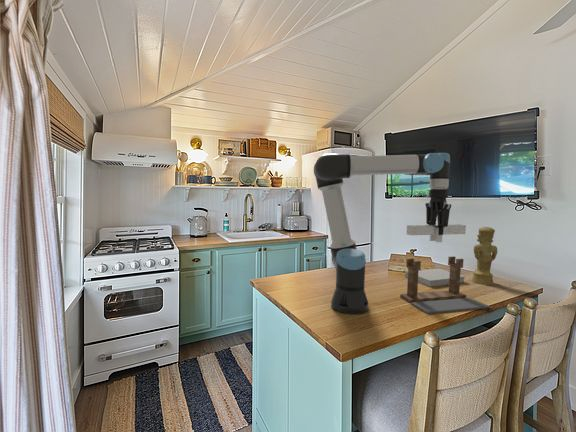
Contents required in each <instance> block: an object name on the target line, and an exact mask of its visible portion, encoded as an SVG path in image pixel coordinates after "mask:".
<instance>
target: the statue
mask: <svg viewBox="0 0 576 432" xmlns="http://www.w3.org/2000/svg"><path fill="white" fill-rule="evenodd" d="M495 231H496V229H494V228H492V227H489V226H482V227H479V228H478V234H476V236H477V239H476V241H477V242H479V243H478V244H475V245H474V246H473V253H474V254H473V255H474V257H475V259H476V260H477V261H476V267H477V268H476V269H475V270H474V271H473V276H472V277H471V280H470V281H471V282H472V283H475V284H477V283H478V284H479V285H482V286H483V285H485V286H493V285H494V284H495V283H494V279H493V276H494V275H493V273H491V269H492V268H491V267H492V262H493V261H494V260H495V259H496V258H497V254H498V247H497V246H496V245H492V243H493V242H494V235H495Z"/></svg>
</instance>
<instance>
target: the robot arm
mask: <svg viewBox="0 0 576 432" xmlns="http://www.w3.org/2000/svg"><path fill="white" fill-rule="evenodd" d="M450 167H451V156H450V154H449V153H448V152H430V153H429V152H428V153H424V154H423V153H421V154H396V155H395V154H391V155H390V154H389V155H388V154H387V155H360V156H359V155H357V156H355V155H354V156H353V155H351V153H330V152H329V153H324V154H322V155H321V156H319V157H318V158H317V160H316V161H315V163H314V165H313V174H314V177H315V181H316V185H317V189H318V190H319V191H321V193H322V197H323V204H324V209H325V213H326V217H327V218H326V219H327V223H328V228H329V232H330V238H331V244H330V245H329V248H330V253H331V261H332V265H333V266H334V269H335V289H334V292H333V294H332V297H331V301H330V304H331V305H330V306H331V307H332V308H333V309H334V310H335V311H337V312H339V313H343V314H350V315H352V314H353V315H356V314H357V315H359V314H364V313H366V312H367V311H368V310H369V301H368V296H367V294H366V291H365V283H366V282H365V280H366V260H367V259H366V255H365V253H364V251H361V250H360V249H358V248H357V245H356V241H355V240H353V238H352V237H351V232H350V227H349V221H348V217H347V212H346V207H345V202H344V196H343V193H342V192H343V191H342V186H343V185H344V180H343V179H350V178H352V176H353V177H354V176H377V175H379V176H380V175H381V176H382V175H406V176H429V190H428V198H430V200H429V202H426V203H425V208H426V209H425V211H426V213H425V214H426V215H425V216H426V220H425V221H426V222H425V223H426V225H438V226H436V227H437V228H436V235H429V241H430V242H435V243H443V230H444V227H447V226H448V225H449V220H450V210H451V208H452V204H451V203H448V202H447V198H448V197H449V185H450V184H449V183H450V169H451V168H450Z"/></svg>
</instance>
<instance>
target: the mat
mask: <svg viewBox="0 0 576 432" xmlns="http://www.w3.org/2000/svg"><path fill="white" fill-rule="evenodd" d="M410 305H411V306H413V307H415V308H416V309H418V310H419V311H422V312H423V313H425V314H426V315H431V314H442V313H451V312H463V311H473V310H483V309H490V308H491V307H490V305H487V304H486V303H483V302H481V301H479V300H476V299H475V298H472V297H466V298H460V299H448V300H436V301H425V302H413V303H410Z"/></svg>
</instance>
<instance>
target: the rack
mask: <svg viewBox="0 0 576 432" xmlns="http://www.w3.org/2000/svg"><path fill="white" fill-rule="evenodd" d="M447 260H448V261H447V265H448V266H449V272H450V277H449V284H448V290H436V291H424V292H423V291H422V292H418V288H419V286H418V285H419V282H418V271H420V270H421V267H422V262H421V261H420V260H415V258H406V265H405V266H406V268H407V272H408V278H407V288H406V290H407V291H406V293H400V296H399V297H400V298H401V299H402V300H404V301H405V302H407V303H408V304H411V303H413V302H425V301H436V300H448V299H460V298H467V294H465V293H462V292H461V291H460V285H461V283H460V275H461V270H462V269H463V268H464V258H456V256H453V255H452V256H448V259H447Z"/></svg>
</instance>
